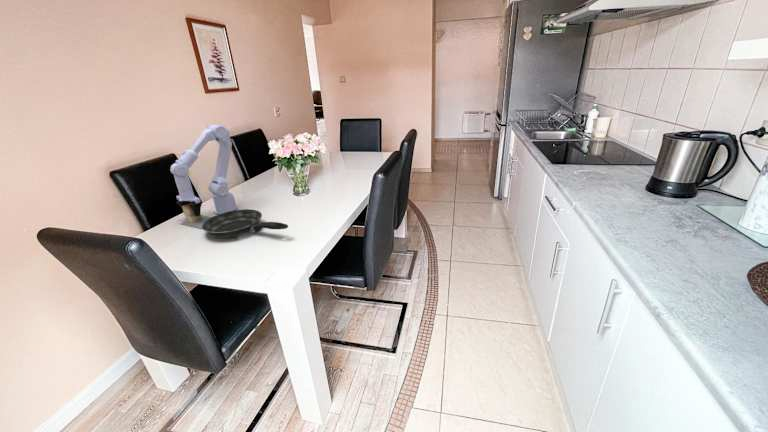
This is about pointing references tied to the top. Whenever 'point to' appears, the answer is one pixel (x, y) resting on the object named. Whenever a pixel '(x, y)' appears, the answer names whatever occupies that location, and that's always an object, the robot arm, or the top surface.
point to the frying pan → (238, 223)
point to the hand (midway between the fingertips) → (193, 214)
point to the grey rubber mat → (196, 224)
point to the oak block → (190, 214)
